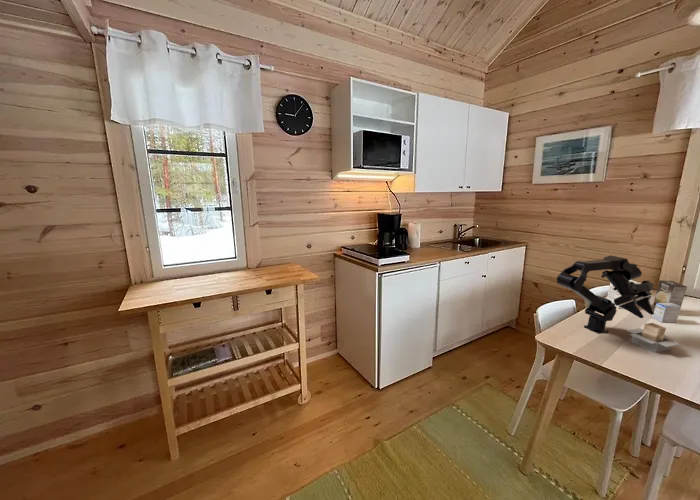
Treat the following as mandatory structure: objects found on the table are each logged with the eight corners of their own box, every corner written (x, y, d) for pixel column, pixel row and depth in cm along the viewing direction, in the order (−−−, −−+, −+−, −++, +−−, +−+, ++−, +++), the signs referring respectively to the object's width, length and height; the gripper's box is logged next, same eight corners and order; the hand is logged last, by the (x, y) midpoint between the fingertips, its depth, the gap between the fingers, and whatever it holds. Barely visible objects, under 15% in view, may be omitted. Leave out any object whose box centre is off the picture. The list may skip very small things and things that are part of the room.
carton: (658, 356, 113) (661, 347, 112) (619, 339, 126) (621, 330, 125) (682, 352, 116) (685, 343, 115) (642, 335, 129) (644, 327, 128)
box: (652, 349, 118) (658, 328, 116) (639, 343, 122) (644, 323, 121) (660, 347, 119) (666, 327, 117) (647, 342, 124) (652, 322, 122)
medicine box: (666, 318, 147) (671, 302, 145) (676, 322, 143) (681, 306, 141) (652, 318, 147) (656, 302, 145) (661, 322, 143) (665, 306, 141)
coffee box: (651, 307, 161) (658, 279, 158) (665, 308, 160) (672, 280, 156) (665, 314, 152) (673, 285, 149) (679, 315, 151) (688, 286, 148)
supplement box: (622, 303, 167) (628, 278, 163) (635, 309, 158) (642, 283, 155) (605, 302, 167) (610, 277, 164) (617, 308, 159) (623, 282, 156)
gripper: (629, 276, 118) (659, 312, 111) (650, 272, 126) (680, 305, 119) (602, 288, 127) (628, 322, 119) (623, 283, 135) (649, 315, 127)
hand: (647, 316), depth 121 cm, fingers open, 9 cm apart
